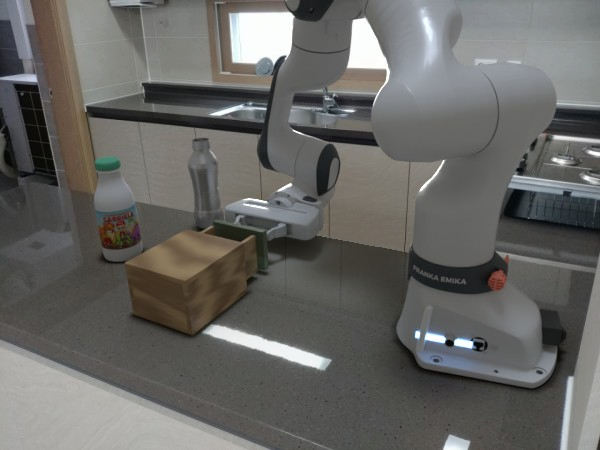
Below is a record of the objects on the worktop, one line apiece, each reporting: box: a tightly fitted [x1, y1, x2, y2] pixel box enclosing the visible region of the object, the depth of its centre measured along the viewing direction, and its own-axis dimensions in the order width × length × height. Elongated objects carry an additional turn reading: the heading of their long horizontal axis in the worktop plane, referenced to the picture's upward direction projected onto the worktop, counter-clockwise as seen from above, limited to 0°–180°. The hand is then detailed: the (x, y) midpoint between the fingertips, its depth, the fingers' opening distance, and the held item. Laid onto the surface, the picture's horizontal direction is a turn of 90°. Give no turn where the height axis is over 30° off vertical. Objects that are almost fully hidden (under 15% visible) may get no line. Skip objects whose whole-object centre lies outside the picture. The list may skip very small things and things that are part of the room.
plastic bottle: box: [187, 137, 225, 230], centre depth 117 cm, size 6×7×20 cm
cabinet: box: [124, 228, 248, 336], centre depth 89 cm, size 15×13×10 cm
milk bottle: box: [93, 156, 144, 263], centre depth 105 cm, size 8×8×20 cm
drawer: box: [199, 219, 270, 281], centre depth 97 cm, size 18×11×8 cm, turn 150°
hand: (249, 232), depth 102 cm, fingers closed on drawer, 6 cm apart
